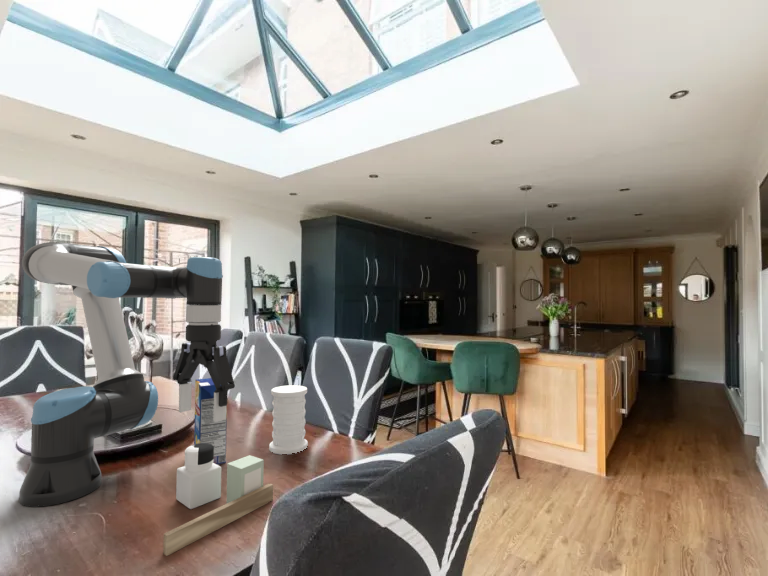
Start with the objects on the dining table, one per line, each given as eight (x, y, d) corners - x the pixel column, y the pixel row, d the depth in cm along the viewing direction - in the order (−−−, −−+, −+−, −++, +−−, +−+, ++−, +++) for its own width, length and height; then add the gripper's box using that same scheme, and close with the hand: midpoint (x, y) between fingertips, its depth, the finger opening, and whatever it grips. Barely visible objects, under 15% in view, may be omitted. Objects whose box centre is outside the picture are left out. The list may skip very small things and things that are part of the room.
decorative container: (261, 452, 120) (262, 391, 120) (282, 439, 131) (283, 383, 131) (295, 456, 116) (296, 394, 117) (314, 443, 127) (314, 386, 128)
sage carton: (226, 504, 89) (227, 463, 89) (248, 493, 94) (249, 455, 94) (240, 511, 86) (241, 469, 86) (263, 499, 91) (263, 459, 91)
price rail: (162, 553, 72) (162, 533, 72) (268, 498, 92) (268, 482, 92) (166, 556, 71) (167, 535, 71) (272, 500, 91) (272, 484, 91)
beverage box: (199, 468, 108) (200, 386, 109) (193, 454, 117) (195, 379, 118) (225, 462, 112) (227, 383, 112) (218, 450, 121) (220, 377, 122)
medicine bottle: (206, 488, 97) (207, 438, 97) (221, 497, 92) (222, 445, 92) (175, 499, 91) (176, 446, 91) (190, 510, 86) (191, 454, 87)
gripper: (252, 325, 90) (250, 420, 89) (188, 321, 103) (186, 404, 102) (222, 326, 83) (220, 429, 83) (158, 322, 97) (156, 410, 96)
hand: (201, 415), depth 93 cm, fingers open, 13 cm apart
